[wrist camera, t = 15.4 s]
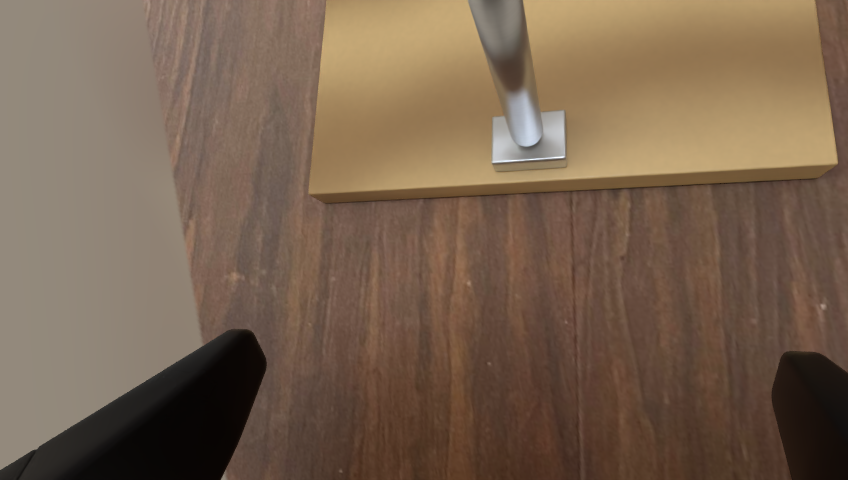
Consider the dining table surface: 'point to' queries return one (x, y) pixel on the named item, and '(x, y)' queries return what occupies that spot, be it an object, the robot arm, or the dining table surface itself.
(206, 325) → the dining table surface
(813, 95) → the board
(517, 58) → the metal joystick
